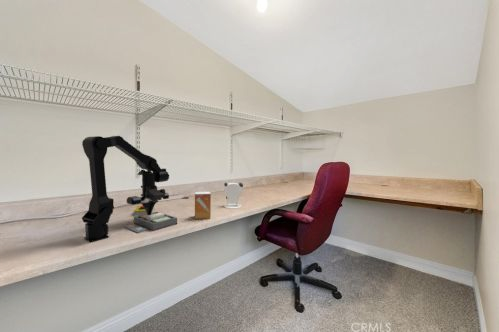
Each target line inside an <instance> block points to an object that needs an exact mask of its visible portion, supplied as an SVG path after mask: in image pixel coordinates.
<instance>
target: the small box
mask: <svg viewBox="0 0 499 332" xmlns="http://www.w3.org/2000/svg"><path fill="white" fill-rule="evenodd" d="M211 199H212V193H211V191H195V192H194V219H195V220H199V219H202V220H203V219H204V220H205V219H211V218H212V217H211V213H212V212H211V211H212V210H211Z"/></svg>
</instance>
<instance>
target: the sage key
mask: <svg viewBox="0 0 499 332" xmlns="http://www.w3.org/2000/svg"><path fill="white" fill-rule="evenodd" d="M168 219H171V218H169V217H164V218H160V219H156V220H153V223H157V222H161V221H164V220H168Z"/></svg>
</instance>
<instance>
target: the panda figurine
mask: <svg viewBox="0 0 499 332" xmlns="http://www.w3.org/2000/svg"><path fill="white" fill-rule="evenodd" d="M243 187H244V184H243V183H242V182H239V183H235V182H229V183H227V182H224V191H223V192H224V194H225V197H226V198H225V199H226V204H224V205H223V208H225V209H240V208H242V206H243V205H241V204H239V198H240V197H241V196H242V195H243Z"/></svg>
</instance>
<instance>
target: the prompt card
mask: <svg viewBox="0 0 499 332" xmlns="http://www.w3.org/2000/svg"><path fill="white" fill-rule="evenodd" d="M124 229H127V230H129V231H132V232H133V233H136V234H140V233H144V232H147V231H148V229H147V228H145V227H142V226H140V225H137V224H135V223H130V224H128V225H124Z"/></svg>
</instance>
